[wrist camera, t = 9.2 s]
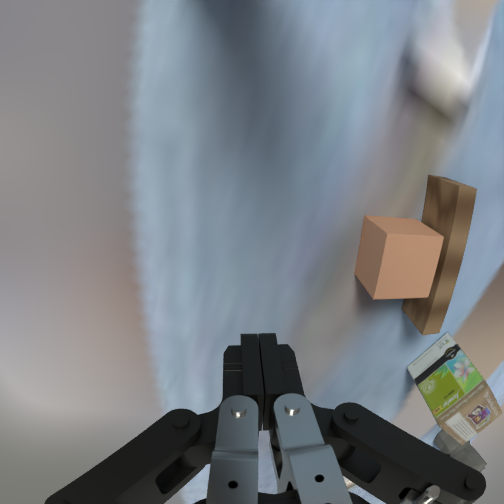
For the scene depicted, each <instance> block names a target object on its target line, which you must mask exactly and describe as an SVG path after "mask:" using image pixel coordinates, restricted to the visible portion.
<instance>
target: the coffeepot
mask: <svg viewBox="0 0 504 504" xmlns="http://www.w3.org/2000/svg"><path fill="white" fill-rule="evenodd" d="M434 443H435V444H436V445H437V446H438V448H439V449H440V450H441V451H442V452H443V453H445V454H446V455H448V456H450V457H452V458H454V459H456V460H458V461H460V462H462V463H464V464H466V465H468V466H470V467H472V468H474V469H476V470H477V471H479V472H481V471H482V470H483V469H484V467H485V465H486V464H487V463H486V462H485V461H484V460H483V458H482V457H481V456H480V455H479V453H478V452H477V451H476V450H475V449H474V448H473V447H472V446H471V445H470V441H467V442H466V443H465V444H463V445H461V444H459V443H458V442H457V441H456V440H455V439H454V438H452V437H451V436H450V435H448V434H447V433H446V432H445V431H444V430H441V431H440V432H439V433H438V434H437V436H436V437H435V440H434Z"/></svg>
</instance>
